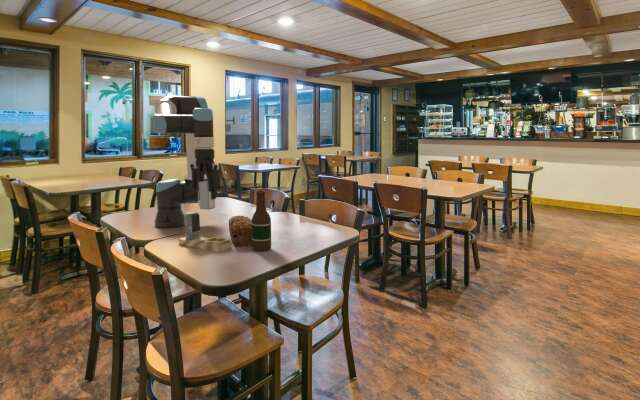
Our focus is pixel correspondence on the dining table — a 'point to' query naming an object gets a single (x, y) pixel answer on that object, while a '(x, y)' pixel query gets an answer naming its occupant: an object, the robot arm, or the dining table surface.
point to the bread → (240, 230)
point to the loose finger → (204, 195)
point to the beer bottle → (261, 225)
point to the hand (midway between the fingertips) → (206, 206)
